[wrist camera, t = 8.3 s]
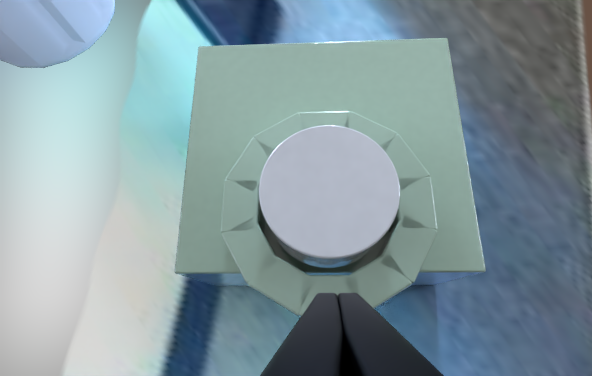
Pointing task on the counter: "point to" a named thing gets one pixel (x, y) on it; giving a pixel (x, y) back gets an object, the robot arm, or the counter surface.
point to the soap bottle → (50, 29)
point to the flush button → (329, 195)
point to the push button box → (319, 112)
